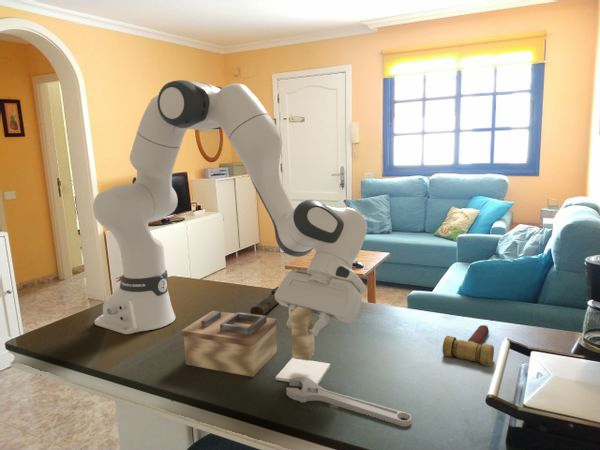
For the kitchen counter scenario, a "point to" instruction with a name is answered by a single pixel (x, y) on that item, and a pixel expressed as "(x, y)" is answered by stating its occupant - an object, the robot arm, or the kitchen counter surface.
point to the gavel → (470, 347)
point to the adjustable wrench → (343, 401)
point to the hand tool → (265, 304)
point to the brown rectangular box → (231, 342)
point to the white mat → (303, 370)
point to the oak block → (302, 333)
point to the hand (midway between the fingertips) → (300, 330)
